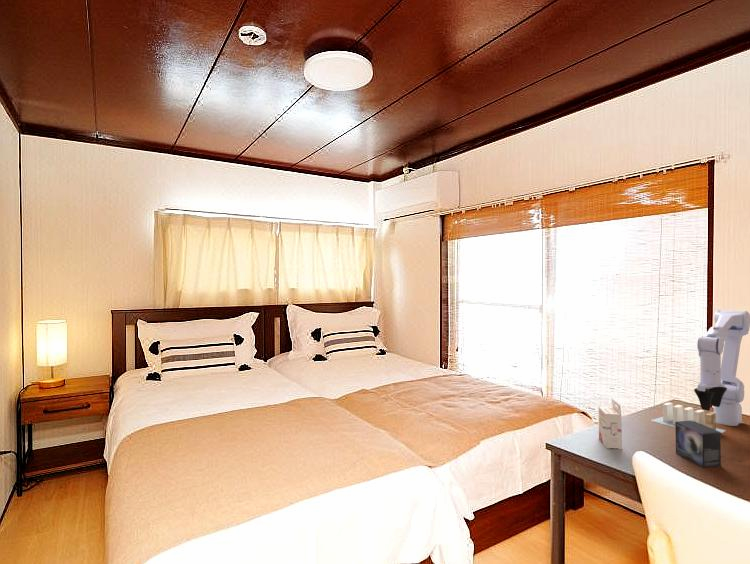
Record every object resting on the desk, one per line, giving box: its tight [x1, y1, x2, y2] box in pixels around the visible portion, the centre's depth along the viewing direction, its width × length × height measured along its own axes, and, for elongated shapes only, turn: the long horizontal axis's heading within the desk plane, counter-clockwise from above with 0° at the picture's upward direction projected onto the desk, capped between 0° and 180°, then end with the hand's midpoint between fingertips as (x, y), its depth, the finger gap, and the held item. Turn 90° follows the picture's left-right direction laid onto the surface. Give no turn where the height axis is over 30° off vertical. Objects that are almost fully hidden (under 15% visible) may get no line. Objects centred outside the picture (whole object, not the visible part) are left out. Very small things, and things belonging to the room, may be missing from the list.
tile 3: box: [683, 406, 695, 421], centre depth 156 cm, size 4×2×6 cm, turn 120°
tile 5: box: [662, 402, 674, 422], centre depth 162 cm, size 4×2×6 cm, turn 120°
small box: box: [674, 421, 722, 468], centre depth 130 cm, size 11×6×10 cm, turn 5°
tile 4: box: [673, 404, 684, 424], centre depth 159 cm, size 4×2×6 cm, turn 120°
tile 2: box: [694, 409, 706, 426], centre depth 153 cm, size 4×2×6 cm, turn 120°
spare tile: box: [705, 411, 717, 430], centre depth 150 cm, size 4×2×6 cm, turn 120°
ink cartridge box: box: [598, 398, 623, 450], centre depth 143 cm, size 9×5×15 cm, turn 168°
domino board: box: [649, 415, 727, 434], centre depth 157 cm, size 12×20×1 cm, turn 30°
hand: (710, 408), depth 150 cm, fingers open, 7 cm apart
